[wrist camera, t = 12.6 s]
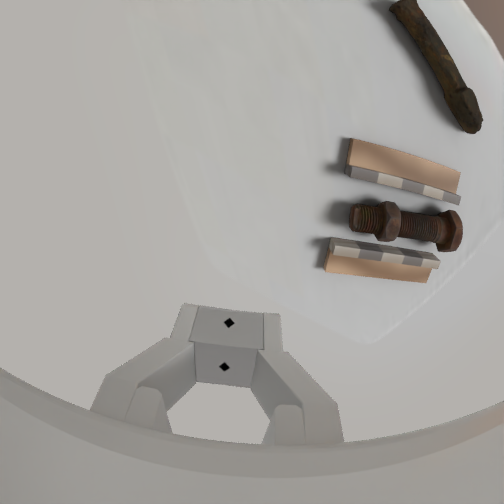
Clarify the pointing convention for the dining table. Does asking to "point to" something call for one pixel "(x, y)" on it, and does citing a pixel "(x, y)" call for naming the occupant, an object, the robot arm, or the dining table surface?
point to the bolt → (407, 225)
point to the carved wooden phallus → (441, 65)
